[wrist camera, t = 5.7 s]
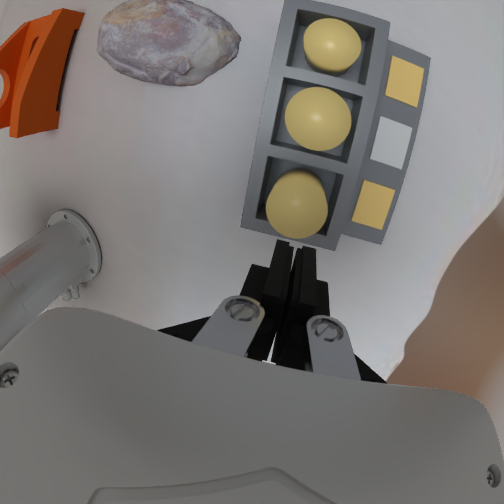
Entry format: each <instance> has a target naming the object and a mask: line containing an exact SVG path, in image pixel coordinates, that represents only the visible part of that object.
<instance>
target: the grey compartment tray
mask: <svg viewBox="0 0 504 504" xmlns="http://www.w3.org/2000/svg"><path fill="white" fill-rule="evenodd" d="M325 18H332V19H337V20H341V21H343V22H345V23H347V24H348V25H350V26H351V27H352V28H353V29H354V30H355V31H356V32H357V34H358V36H359V38H360V40H361V52H360V55H359V57H358V58H357V59H356V61H355V62H354V63H353V64H352V66H351V67H350V68H349V69H348V70H347V71H346V72H345V73H344V74H342V75H339V76H335V77H333V76H329V75H325V74H321V73H317V72H315V71H313V70H312V69H311V68H310V67H309V65H308V64H307V62H306V59H305V55H304V33H305V31H306V29H307V28H308V26H309V25H310V24H312V23H313V22H315V21H317V20H320V19H325ZM389 28H390V22H388V21H386V20H383V19H380V18H377V17H374V16H371V15H368V14H365V13H361V12H358V11H354V10H351V9H347V8H343V7H339V6H335V5H331V4H326V3H322V2H317V1H312V0H285V1H284V5H283V10H282V14H281V19H280V24H279V28H278V33H277V38H276V43H275V48H274V52H273V57H272V62H271V67H270V72H269V77H268V82H267V87H266V92H265V97H264V102H263V107H262V112H261V117H260V122H259V128H258V133H257V138H256V143H255V149H254V154H253V159H252V165H251V170H250V176H249V181H248V186H247V192H246V197H245V203H244V209H243V214H242V220H241V225H240V227H242V228H246V229H250V230H254V231H258V232H262V233H266V234H270V235H274V236H278V237H282V238H286V239H290V240H294V241H298V242H302V243H306V244H310V245H314V246H318V247H321V248H325V249H329V250H333V251H335V249H336V246H337V243H338V240H339V237H340V234H341V231H342V228H343V225H344V222H345V219H346V215H347V212H348V209H349V206H350V202H351V199H352V196H353V192H354V189H355V186H356V182H357V179H358V175H359V171H360V168H361V164H362V160H363V157H364V153H365V149H366V145H367V141H368V137H369V133H370V129H371V125H372V120H373V116H374V112H375V107H376V102H377V98H378V93H379V88H380V83H381V78H382V72H383V67H384V61H385V55H386V49H387V42H388V36H389ZM311 87H322V88H326V89H329V90H331V91H333V92H335V93H337V94H338V95H339V96H340V97H341V98H342V99H343V100H344V101H345V102H346V104H347V106H348V108H349V110H350V114H351V128H350V131H349V133H348V135H347V137H346V139H345V140H344V141H343V142H342V143H341V144H340V145H338V146H336V147H335V148H332V149H329V150H325V151H315V150H310V149H307V148H305V147H303V146H301V145H300V144H298V143H297V142H296V141H295V140H294V139H293V138H292V137H291V135H290V134H289V132H288V130H287V127H286V124H285V111H286V107H287V105H288V103H289V101H290V100H291V98H292V97H293V96H294V95H295V94H297V93H298V92H300V91H302V90H304V89H306V88H311ZM294 168H303V169H307V170H309V171H311V172H313V173H314V174H316V175H317V176H318V177H319V179H320V180H321V182H322V184H323V187H324V191H325V196H326V201H327V206H328V214H327V218H326V221H325V223H324V225H323V226H322V228H321V229H320V230H319V231H318V232H316V233H315V234H313V235H311V236H309V237H306V238H299V239H296V238H289V237H286V236H284V235H282V234H280V233H279V232H277V231H276V230H275V229H274V228H273V227H272V225H271V224H270V222H269V220H268V218H267V214H266V202H267V199H268V196H269V194H270V192H271V191H272V189H273V187H274V185H275V183H276V181H277V179H278V178H279V177H280V175H282V174H283V173H284V172H286V171H288V170H290V169H294Z"/></svg>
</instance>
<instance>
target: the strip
mask: <svg viewBox="0 0 504 504" xmlns="http://www.w3.org/2000/svg"><path fill="white" fill-rule="evenodd" d="M430 59H431V58H430V57H428V56H426V55H423V54H421V53H419V52H417V51H414V50H412V49H410V48H407V47H405V46H403V45H400V44H398V43H395V42H392V41H390V40H388V42H387V49H386V55H385V61H384V67H383V72H382V78H381V83H380V88H379V93H378V98H377V102H376V107H375V112H374V116H373V120H372V125H371V129H370V133H369V137H368V141H367V145H366V149H365V153H364V157H363V160H362V164H361V168H360V171H359V175H358V179H357V182H356V186H355V189H354V192H353V196H352V199H351V202H350V206H349V209H348V212H347V215H346V219H345V222H344V225H343V228H342V231H341V234H345V235H348V236H352V237H356V238H359V239H363V240H366V241H370V242H373V243H377V244H380V245H381V244H382V241H383V238H384V236H385V233H386V230H387V228H388V225H389V222H390V219H391V217H392V214H393V211H394V208H395V205H396V202H397V199H398V196H399V193H400V190H401V187H402V184H403V180H404V177H405V174H406V170H407V167H408V163H409V160H410V156H411V153H412V149H413V145H414V141H415V137H416V133H417V129H418V125H419V120H420V116H421V111H422V106H423V101H424V96H425V91H426V85H427V79H428V73H429V66H430Z"/></svg>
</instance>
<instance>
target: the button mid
mask: <svg viewBox="0 0 504 504" xmlns="http://www.w3.org/2000/svg"><path fill="white" fill-rule="evenodd" d="M285 124H286V127H287V130H288V132H289V134H290V135H291V137H292V138H293V139H294V140H295V141H296V142H297V143H298V144H300V145H301V146H303V147H305V148H307V149H310V150H315V151H325V150H329V149H332V148H335V147H336V146H338V145H340V144H341V143H342V142H343V141H344V140H345V139H346V137H347V135H348V133H349V131H350V128H351V114H350V110H349V108H348V106H347V104H346V102H345V101H344V100H343V99H342V98H341V97H340V96H339V95H338V94H337V93H335V92H333V91H331V90H329V89H326V88H322V87H311V88H306V89H304V90H302V91H300V92H298V93H297V94H295V95H294V96H293V97H292V98H291V100H290V101H289V103H288V105H287V107H286V111H285Z"/></svg>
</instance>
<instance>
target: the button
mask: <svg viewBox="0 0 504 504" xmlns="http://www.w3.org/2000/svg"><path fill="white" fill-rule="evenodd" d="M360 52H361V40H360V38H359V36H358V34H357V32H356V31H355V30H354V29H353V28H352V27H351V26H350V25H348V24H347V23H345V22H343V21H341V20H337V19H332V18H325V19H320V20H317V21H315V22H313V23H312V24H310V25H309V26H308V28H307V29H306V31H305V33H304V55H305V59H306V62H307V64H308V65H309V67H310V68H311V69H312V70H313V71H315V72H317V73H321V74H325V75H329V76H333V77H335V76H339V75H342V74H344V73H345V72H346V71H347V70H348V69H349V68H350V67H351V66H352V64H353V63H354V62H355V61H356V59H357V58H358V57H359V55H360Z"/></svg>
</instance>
